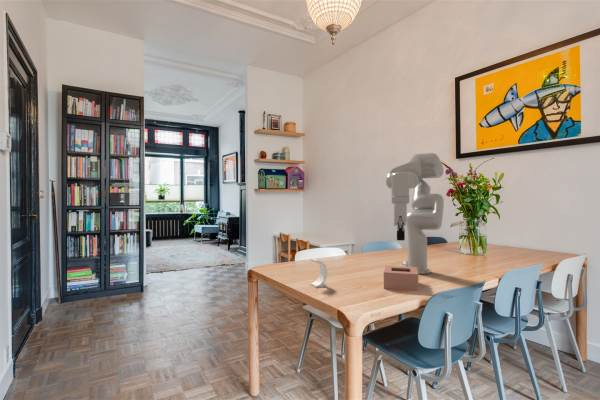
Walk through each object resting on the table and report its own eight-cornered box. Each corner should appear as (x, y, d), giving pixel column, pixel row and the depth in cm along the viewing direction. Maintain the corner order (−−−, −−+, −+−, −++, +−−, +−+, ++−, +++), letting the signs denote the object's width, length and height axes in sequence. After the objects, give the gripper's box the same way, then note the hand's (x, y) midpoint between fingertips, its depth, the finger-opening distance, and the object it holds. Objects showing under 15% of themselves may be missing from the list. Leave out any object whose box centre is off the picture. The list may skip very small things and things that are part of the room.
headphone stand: (310, 285, 146) (310, 258, 146) (321, 283, 149) (321, 257, 149) (316, 287, 142) (315, 260, 142) (327, 285, 145) (327, 259, 145)
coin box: (383, 288, 140) (383, 272, 140) (385, 280, 153) (385, 265, 153) (418, 291, 136) (418, 274, 136) (416, 282, 149) (416, 267, 149)
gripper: (392, 199, 153) (392, 235, 154) (390, 201, 137) (391, 241, 137) (408, 199, 151) (409, 235, 152) (409, 200, 135) (410, 242, 135)
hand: (400, 238), depth 144 cm, fingers open, 9 cm apart
